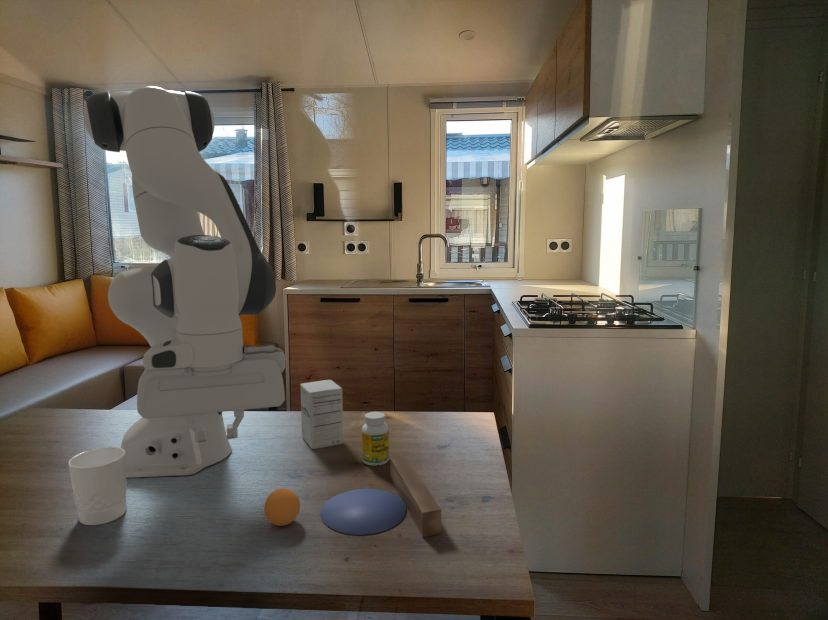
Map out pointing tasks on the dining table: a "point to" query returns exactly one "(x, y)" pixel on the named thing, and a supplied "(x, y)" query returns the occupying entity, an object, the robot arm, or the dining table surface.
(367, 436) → the supplement bottle
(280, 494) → the ball
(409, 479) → the rail
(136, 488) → the dining table surface
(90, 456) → the white cup
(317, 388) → the supplement box
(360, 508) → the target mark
